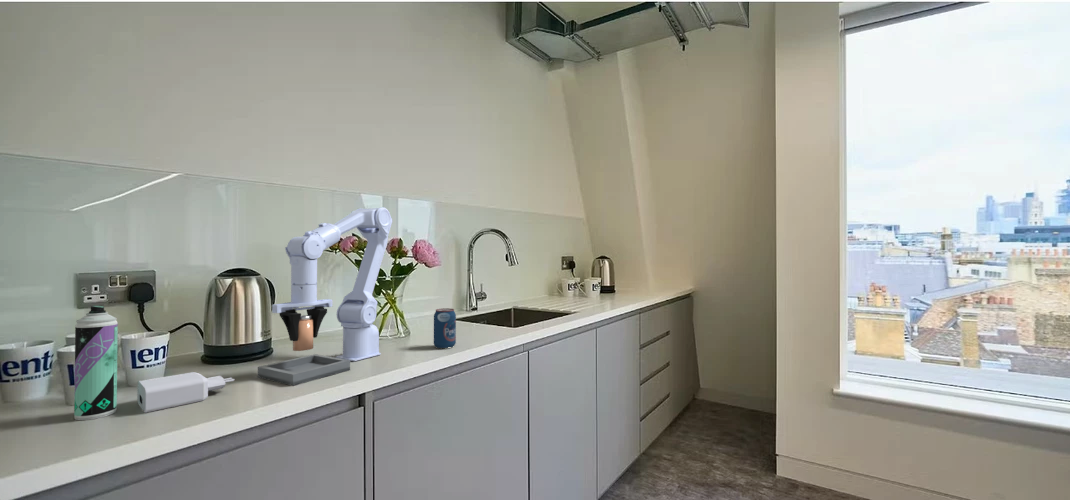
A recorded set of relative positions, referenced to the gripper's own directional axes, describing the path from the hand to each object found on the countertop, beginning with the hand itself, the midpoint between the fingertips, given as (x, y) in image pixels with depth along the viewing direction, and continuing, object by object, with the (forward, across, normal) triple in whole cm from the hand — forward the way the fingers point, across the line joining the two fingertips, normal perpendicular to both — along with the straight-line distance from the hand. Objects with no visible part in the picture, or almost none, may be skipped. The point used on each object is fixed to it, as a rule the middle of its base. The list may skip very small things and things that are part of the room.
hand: (303, 338), depth 107 cm
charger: (+9, +23, -3) cm, 25 cm away
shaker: (+2, 0, 0) cm, 3 cm away
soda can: (+9, -40, +10) cm, 43 cm away
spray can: (+9, +36, -7) cm, 37 cm away
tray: (+8, 0, +1) cm, 9 cm away
